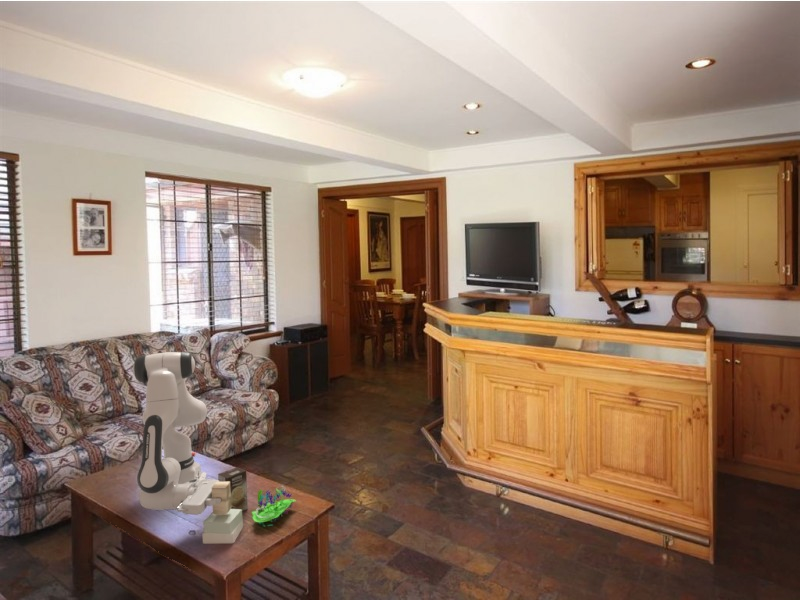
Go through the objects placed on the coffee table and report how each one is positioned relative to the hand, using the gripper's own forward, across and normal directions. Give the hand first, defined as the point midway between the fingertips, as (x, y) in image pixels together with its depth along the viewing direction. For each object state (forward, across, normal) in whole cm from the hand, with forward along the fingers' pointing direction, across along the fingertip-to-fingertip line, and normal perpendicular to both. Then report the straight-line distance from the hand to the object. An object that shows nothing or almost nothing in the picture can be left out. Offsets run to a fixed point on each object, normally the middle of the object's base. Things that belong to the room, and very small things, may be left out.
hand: (224, 496), depth 195 cm
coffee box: (-3, +18, +15) cm, 24 cm away
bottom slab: (-1, 0, +15) cm, 15 cm away
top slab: (-1, 0, +11) cm, 11 cm away
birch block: (-1, 0, +6) cm, 6 cm away
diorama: (+14, +12, +15) cm, 24 cm away
